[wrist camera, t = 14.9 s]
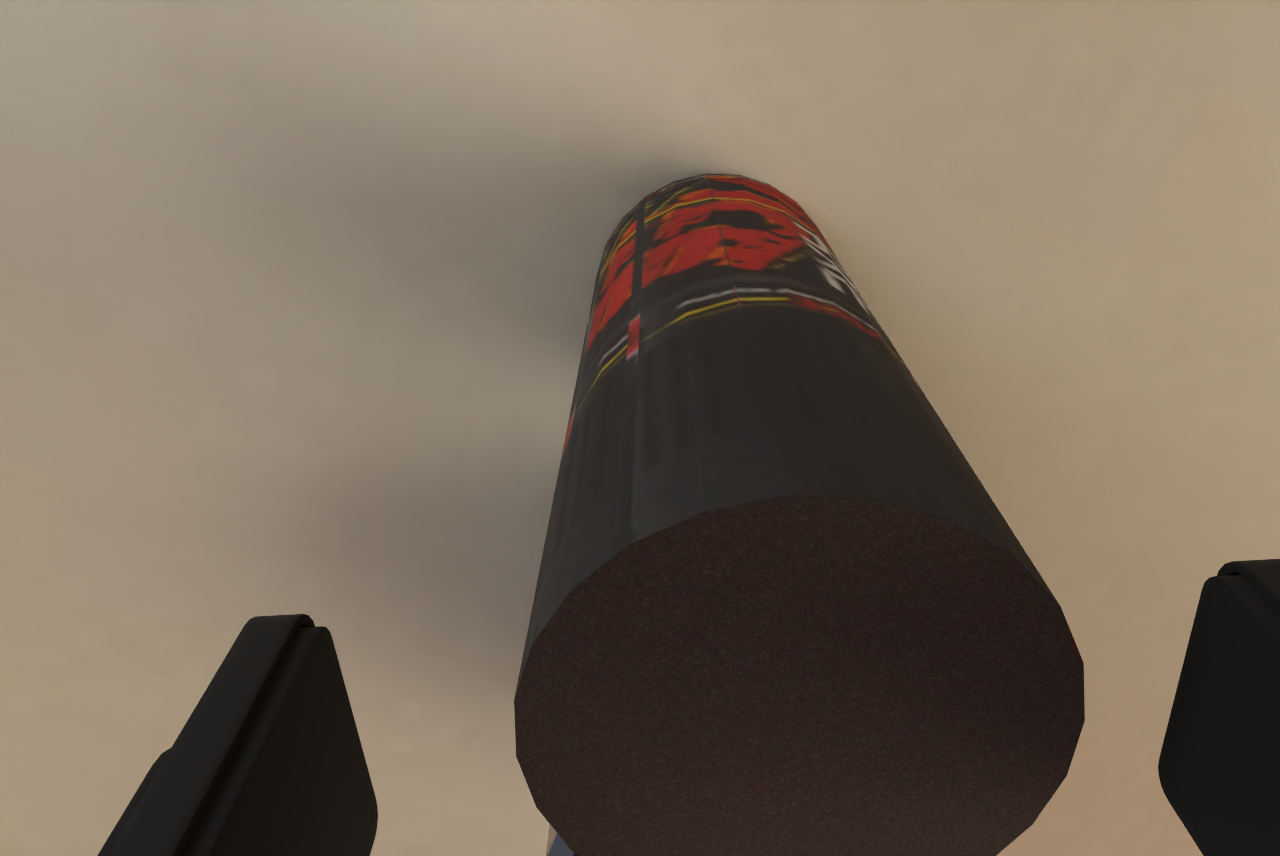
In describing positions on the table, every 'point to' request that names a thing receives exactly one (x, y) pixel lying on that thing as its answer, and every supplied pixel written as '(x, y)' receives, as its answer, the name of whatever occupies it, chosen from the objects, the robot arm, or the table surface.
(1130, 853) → the table surface
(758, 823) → the deodorant
